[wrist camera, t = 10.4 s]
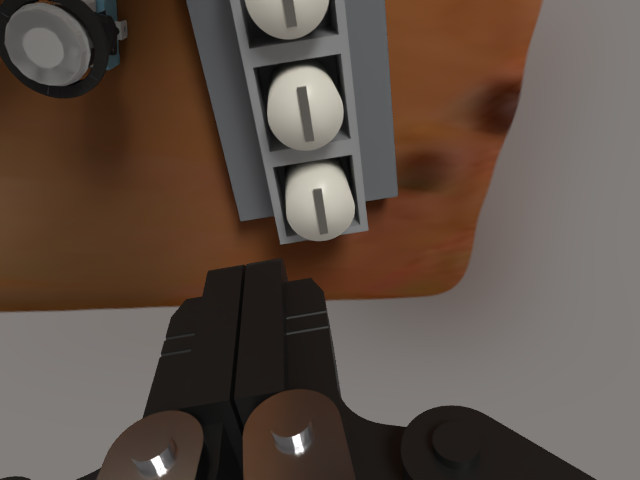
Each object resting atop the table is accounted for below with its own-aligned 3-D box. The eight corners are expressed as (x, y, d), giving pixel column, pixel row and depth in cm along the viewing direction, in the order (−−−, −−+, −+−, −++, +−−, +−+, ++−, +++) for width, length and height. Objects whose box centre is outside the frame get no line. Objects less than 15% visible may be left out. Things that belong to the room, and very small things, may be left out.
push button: (55, -50, 31) (-32, -55, 22) (144, -37, 32) (94, -36, 23) (66, 62, 34) (-6, 96, 25) (147, 72, 35) (104, 108, 26)
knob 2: (279, 151, 34) (280, 186, 29) (339, 141, 34) (351, 175, 29) (289, 205, 37) (292, 247, 31) (346, 196, 37) (358, 236, 31)
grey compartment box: (181, -52, 31) (156, -57, 25) (370, -83, 31) (395, -95, 25) (242, 204, 40) (236, 251, 34) (389, 180, 40) (412, 223, 34)
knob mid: (262, 61, 32) (260, 82, 26) (328, 51, 32) (339, 69, 26) (275, 126, 34) (275, 157, 28) (336, 116, 34) (348, 145, 28)
